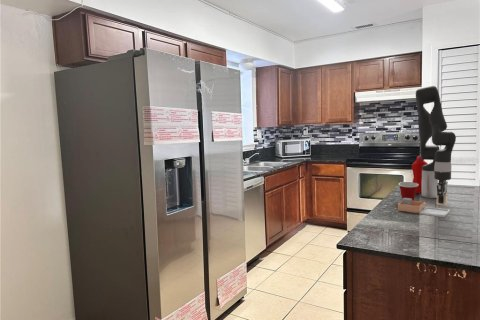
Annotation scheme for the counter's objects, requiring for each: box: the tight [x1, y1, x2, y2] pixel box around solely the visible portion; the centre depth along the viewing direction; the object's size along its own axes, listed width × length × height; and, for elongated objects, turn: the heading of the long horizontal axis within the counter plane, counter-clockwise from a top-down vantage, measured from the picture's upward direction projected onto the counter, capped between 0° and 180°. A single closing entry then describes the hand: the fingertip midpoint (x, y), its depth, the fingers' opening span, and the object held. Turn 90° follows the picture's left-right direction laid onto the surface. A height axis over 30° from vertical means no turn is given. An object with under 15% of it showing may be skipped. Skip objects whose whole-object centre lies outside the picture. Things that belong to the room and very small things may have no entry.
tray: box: [419, 206, 451, 218], centre depth 176 cm, size 14×12×1 cm
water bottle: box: [410, 155, 429, 194], centre depth 225 cm, size 9×11×25 cm
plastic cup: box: [398, 181, 418, 201], centre depth 198 cm, size 11×11×12 cm
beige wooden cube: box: [435, 193, 449, 206], centre depth 173 cm, size 4×4×5 cm
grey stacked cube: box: [401, 198, 412, 205], centre depth 185 cm, size 4×4×5 cm
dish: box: [397, 200, 426, 214], centre depth 183 cm, size 12×11×4 cm
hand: (441, 202), depth 174 cm, fingers closed on beige wooden cube, 4 cm apart
